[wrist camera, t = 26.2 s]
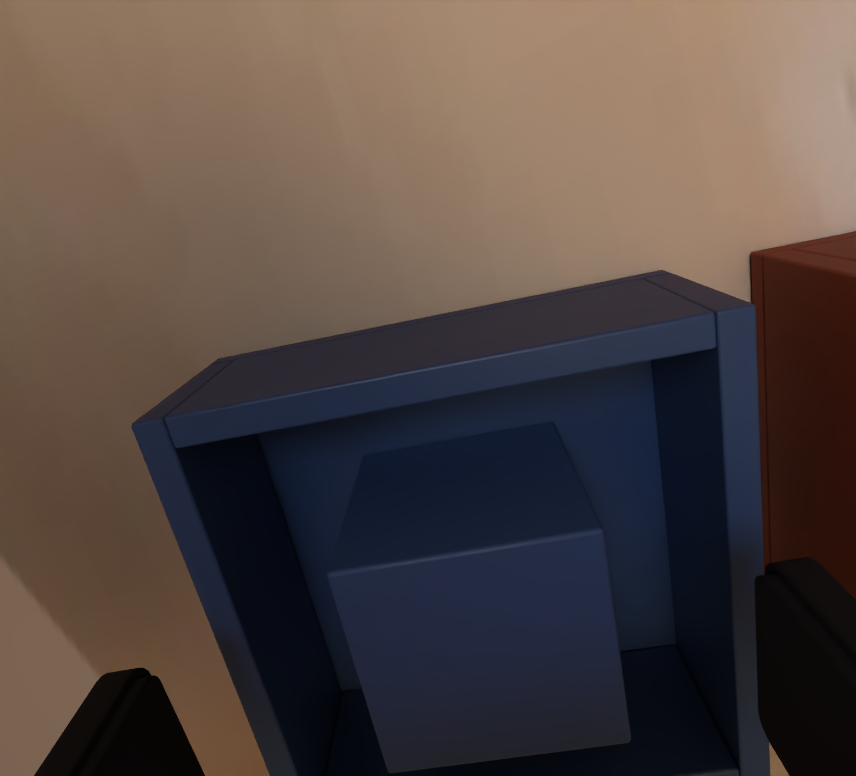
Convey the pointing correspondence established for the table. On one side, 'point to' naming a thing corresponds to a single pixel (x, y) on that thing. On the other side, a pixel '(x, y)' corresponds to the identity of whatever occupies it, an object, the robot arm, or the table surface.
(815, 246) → the terracotta bin
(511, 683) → the blue block
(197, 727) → the table surface
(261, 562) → the blue bin
